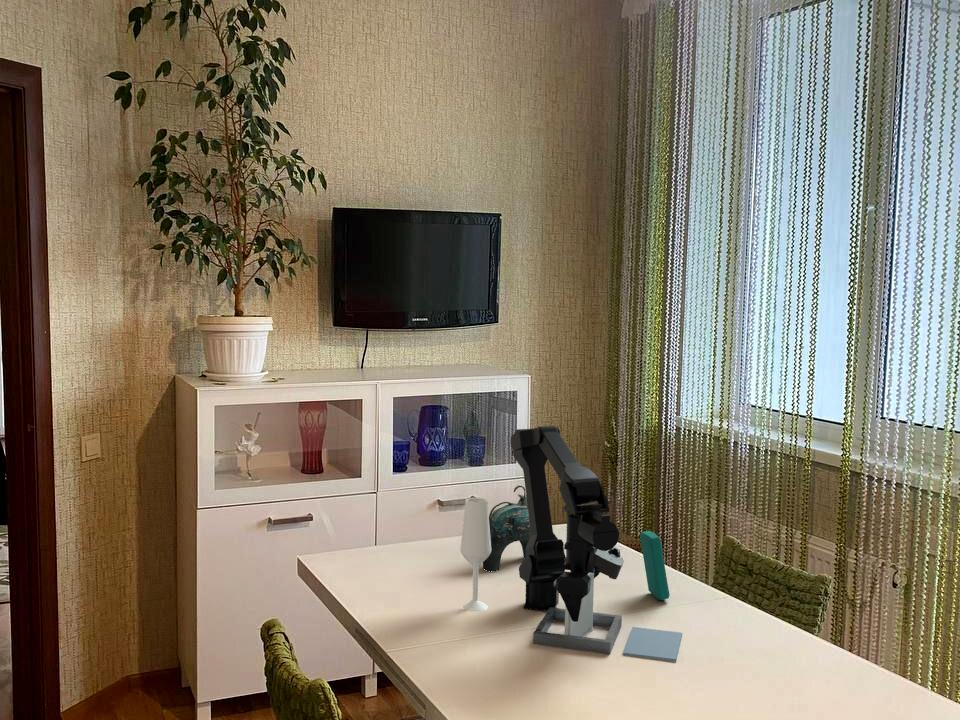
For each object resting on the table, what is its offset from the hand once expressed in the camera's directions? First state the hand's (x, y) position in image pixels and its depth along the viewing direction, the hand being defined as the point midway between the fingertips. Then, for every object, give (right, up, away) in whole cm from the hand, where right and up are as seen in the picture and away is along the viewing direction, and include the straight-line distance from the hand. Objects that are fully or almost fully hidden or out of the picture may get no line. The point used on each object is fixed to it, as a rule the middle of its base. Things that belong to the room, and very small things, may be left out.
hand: (579, 613), depth 190 cm
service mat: (+14, -5, -4) cm, 16 cm away
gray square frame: (0, -5, +1) cm, 5 cm away
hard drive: (0, -5, +1) cm, 5 cm away
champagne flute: (-21, -3, +16) cm, 26 cm away
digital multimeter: (+19, -3, +24) cm, 31 cm away
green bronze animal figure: (-11, -1, +47) cm, 48 cm away
